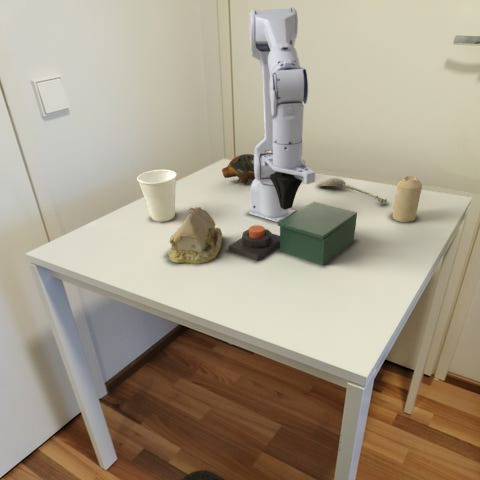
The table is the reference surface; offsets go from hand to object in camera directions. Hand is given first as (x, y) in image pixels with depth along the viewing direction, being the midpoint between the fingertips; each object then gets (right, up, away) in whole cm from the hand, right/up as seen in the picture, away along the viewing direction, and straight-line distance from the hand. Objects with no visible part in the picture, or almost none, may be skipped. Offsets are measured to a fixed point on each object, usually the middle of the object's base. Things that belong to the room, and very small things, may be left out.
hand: (286, 207), depth 94 cm
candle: (+31, +2, +18) cm, 36 cm away
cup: (-30, +3, +24) cm, 39 cm away
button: (-6, -5, +7) cm, 10 cm away
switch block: (-6, -7, +9) cm, 12 cm away
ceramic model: (-20, -8, +9) cm, 23 cm away
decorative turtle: (-8, +22, +41) cm, 47 cm away
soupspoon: (+21, +11, +31) cm, 40 cm away
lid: (+7, -2, +3) cm, 8 cm away
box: (+8, -7, +8) cm, 13 cm away
